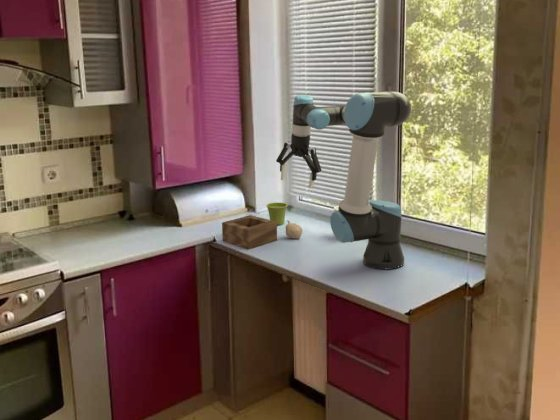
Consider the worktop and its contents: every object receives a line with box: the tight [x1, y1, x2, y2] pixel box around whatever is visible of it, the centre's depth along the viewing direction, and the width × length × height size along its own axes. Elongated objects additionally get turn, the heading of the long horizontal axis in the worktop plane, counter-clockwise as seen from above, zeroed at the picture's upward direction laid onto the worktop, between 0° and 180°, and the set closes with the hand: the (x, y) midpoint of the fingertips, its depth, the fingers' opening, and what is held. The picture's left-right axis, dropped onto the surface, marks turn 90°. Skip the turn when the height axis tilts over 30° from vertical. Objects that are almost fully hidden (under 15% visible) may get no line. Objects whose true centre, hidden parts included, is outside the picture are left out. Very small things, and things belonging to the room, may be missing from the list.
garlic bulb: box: [285, 219, 303, 240], centre depth 269 cm, size 7×6×8 cm
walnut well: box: [221, 214, 278, 250], centre depth 267 cm, size 16×16×8 cm
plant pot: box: [266, 202, 288, 226], centre depth 291 cm, size 9×9×9 cm
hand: (297, 183), depth 268 cm, fingers open, 13 cm apart
